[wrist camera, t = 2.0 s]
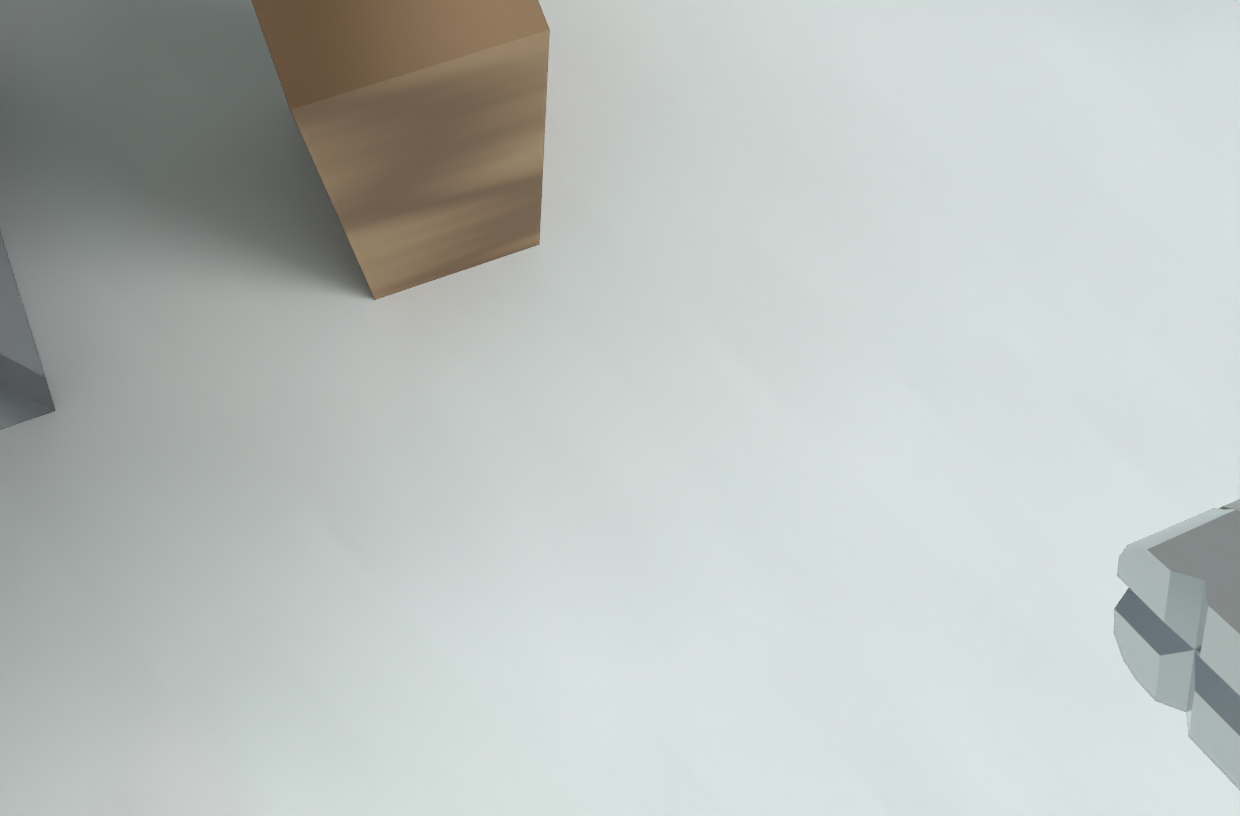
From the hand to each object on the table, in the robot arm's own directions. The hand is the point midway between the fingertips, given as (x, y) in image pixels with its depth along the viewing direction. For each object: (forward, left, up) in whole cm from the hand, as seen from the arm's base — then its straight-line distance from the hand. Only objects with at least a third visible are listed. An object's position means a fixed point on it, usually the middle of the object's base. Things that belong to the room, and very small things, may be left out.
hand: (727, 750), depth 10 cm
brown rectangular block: (-3, -12, -15) cm, 20 cm away
